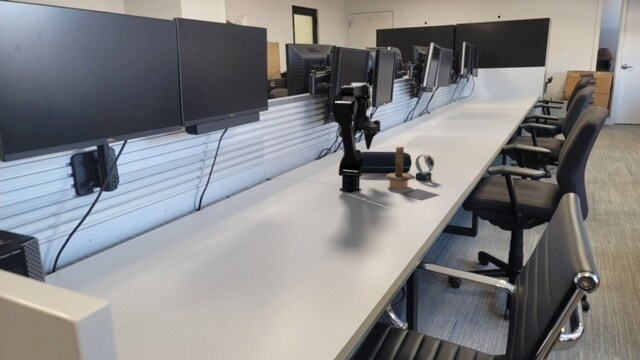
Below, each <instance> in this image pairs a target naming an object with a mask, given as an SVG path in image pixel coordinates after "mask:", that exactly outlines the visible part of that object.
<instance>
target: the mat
mask: <svg viewBox="0 0 640 360" xmlns="http://www.w3.org/2000/svg"><path fill="white" fill-rule="evenodd" d="M398 194H399V195H401V196H405V197H407V198H412V199H415V200H418V201H421V202H422V201H425V200H428V199H432V198H436V197H438V196H440V194H438V193H434V192H431V191H427V190H425V189H419V188H415V189H411V190H408V191H404V192H400V193H398Z"/></svg>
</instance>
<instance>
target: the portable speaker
mask: <svg viewBox="0 0 640 360" xmlns="http://www.w3.org/2000/svg"><path fill="white" fill-rule="evenodd" d="M361 157H362V160H363V172H362V174H370V175H371V174H372V175H373V174H379V175H381V174H383V175H384V174H385V175H387V174H390V173H395V163H396V151H361ZM412 162H413V161H412V157H411V154H409V153H407V152H404V154H403V173H405V174H408V173H409V172H410V170H411V167H412Z"/></svg>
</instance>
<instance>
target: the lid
mask: <svg viewBox="0 0 640 360" xmlns="http://www.w3.org/2000/svg"><path fill="white" fill-rule="evenodd" d="M404 151H405V147H403V146H396V147H395V152H396V163H395V173H390V174H385V175H386V176H385V178H386V179H387V180H389V181H390V180H393V181H408V182H409V181H410V180H412V175H411V174H408V173H403V154H404V153H405V152H404Z"/></svg>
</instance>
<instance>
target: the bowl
mask: <svg viewBox="0 0 640 360" xmlns="http://www.w3.org/2000/svg"><path fill="white" fill-rule="evenodd" d="M408 183H409V180H408V181H393V180H389V184H388V185H389V188H391V189H395V190H403V189H404V190H405V189H407V188H408V185H409V184H408Z"/></svg>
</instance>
